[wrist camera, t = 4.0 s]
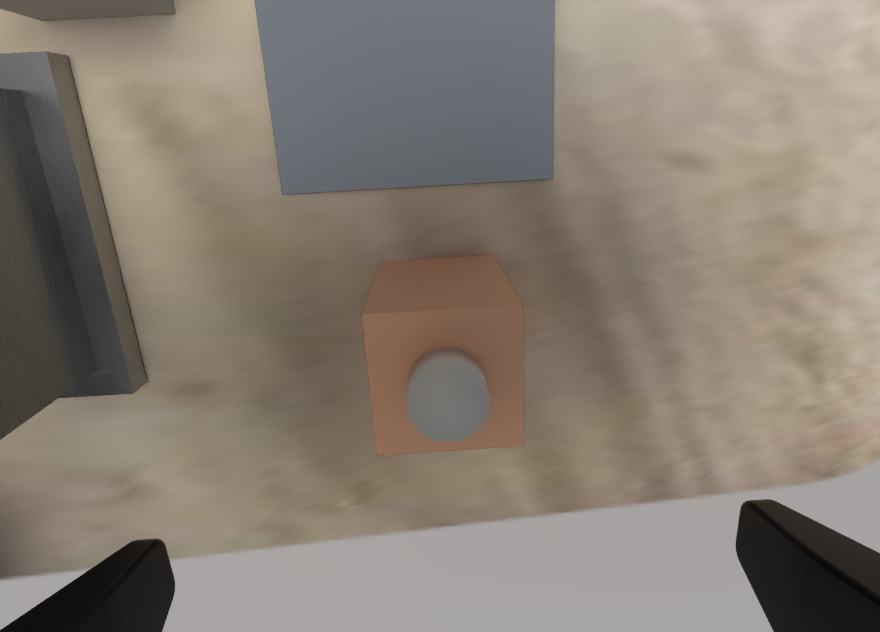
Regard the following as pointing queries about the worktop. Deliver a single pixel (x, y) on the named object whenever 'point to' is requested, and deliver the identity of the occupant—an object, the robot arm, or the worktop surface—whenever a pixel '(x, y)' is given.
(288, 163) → the mat
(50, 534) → the worktop surface
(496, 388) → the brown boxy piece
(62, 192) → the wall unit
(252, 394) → the worktop surface
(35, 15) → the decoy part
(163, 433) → the worktop surface
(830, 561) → the robot arm
